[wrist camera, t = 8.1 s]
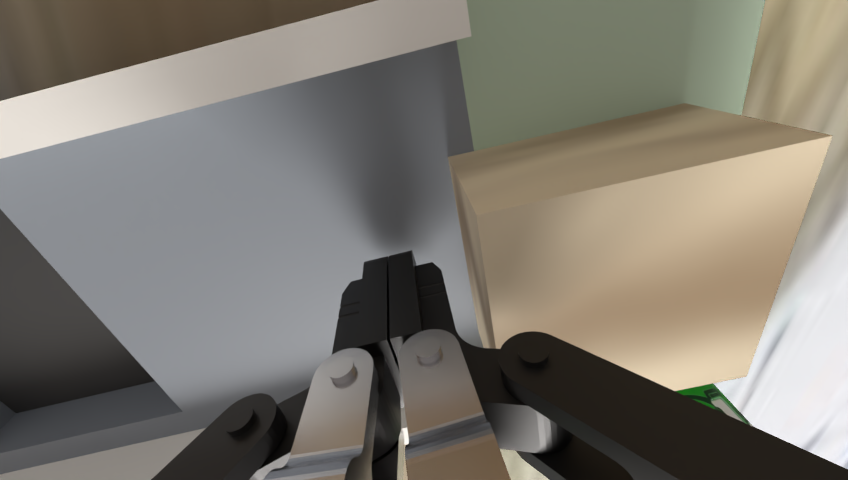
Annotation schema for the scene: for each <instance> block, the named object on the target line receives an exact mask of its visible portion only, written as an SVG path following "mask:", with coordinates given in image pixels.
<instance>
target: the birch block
mask: <svg viewBox="0 0 848 480" xmlns="http://www.w3.org/2000/svg"><path fill="white" fill-rule="evenodd" d="M831 139H832V135H828V134H823V133H818V132H814V131H809V130H805V129H800V128H796V127H791V126H787V125H782V124H778V123H773V122H768V121H764V120H759V119H755V118H750V117H746V116H741V115H737V114H732V113H728V112H723V111H719V110H714V109H709V108H705V107H700V106H696V105H691V104H687V103H683V104H679V105H674V106H670V107H666V108H661V109H657V110H652V111H648V112H644V113H639V114H635V115H630V116H626V117H622V118H617V119H613V120H608V121H604V122H600V123H595V124H591V125H586V126H582V127H578V128H573V129H569V130H565V131H560V132H556V133H551V134H547V135H543V136H538V137H534V138H529V139H525V140H521V141H516V142H512V143H507V144H503V145H499V146H494V147H490V148H485V149H481V150H477V151H472V152H468V153H463V154H459V155H455V156H450V157H448V161H449V167H450V173H451V178H452V184H453V190H454V195H455V201H456V207H457V212H458V218H459V224H460V229H461V235H462V241H463V246H464V252H465V258H466V264H467V269H468V275H469V281H470V286H471V292H472V298H473V303H474V309H475V315H476V320H477V326H478V331H479V334H480V338H481V341H482V344H483V347H484V348H494V349H501V347H502V345H503V344H504V342H505V341H507V340H508V339H509V338H510V337H512V336H514V335H516V334H519V333H523V332H529V331H536V332H543V333H547V334H550V335H552V336H554V337H557V338H559V339H561V340H563V341H565V342H568V343H570V344H572V345H574V346H576V347H579V348H581V349H583V350H585V351H587V352H590V353H592V354H594V355H596V356H598V357H601V358H603V359H605V360H607V361H609V362H612V363H614V364H616V365H618V366H621V367H623V368H625V369H627V370H629V371H632V372H634V373H636V374H638V375H640V376H643V377H645V378H647V379H649V380H651V381H654V382H656V383H658V384H660V385H662V386H665V387H667V388H669V389H671V390H673V391H678V390H683V389H688V388H693V387H697V386H702V385H707V384H712V383H717V382H722V381H727V380H731V379H736V378H741V377H746V376H747V374H748V371H749V368H750V365H751V362H752V360H753V357H754V354H755V351H756V349H757V346H758V343H759V340H760V337H761V335H762V332H763V329H764V326H765V323H766V321H767V318H768V315H769V312H770V309H771V307H772V304H773V301H774V298H775V295H776V293H777V290H778V287H779V284H780V282H781V279H782V276H783V273H784V270H785V268H786V265H787V262H788V259H789V256H790V254H791V251H792V248H793V245H794V242H795V240H796V237H797V234H798V231H799V228H800V226H801V223H802V220H803V217H804V214H805V212H806V209H807V206H808V203H809V201H810V198H811V195H812V192H813V189H814V187H815V184H816V181H817V178H818V175H819V173H820V170H821V167H822V164H823V161H824V159H825V156H826V153H827V150H828V147H829V145H830V142H831Z"/></svg>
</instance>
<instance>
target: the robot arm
mask: <svg viewBox="0 0 848 480" xmlns="http://www.w3.org/2000/svg"><path fill="white" fill-rule="evenodd" d="M340 307H341V308H340V310H339V315H338V317H339V319H338V321H337V327H336V333H335V339H334V345H333V350H332V355H331V356H329V357H328V358H327V359H326V360H324V361H323V362H322V363H321V364H320V366H319V367H318V368H317V370H316V372H315V374H314V376H313V379H312V383H311V386H310V387H308V388H307V389H305V390H304V391H302V392H300V393H298V394H296V395H294V396H292V397H290V398H288V399H286V400H284V401H282V402H280V403H279V404H277V403H276V402H275V400H274V399H273V398H272V397H271V396H270V395H267V394H263V393H258V394H252V395H249V396H246V397H244V398H242V399H240V400H238V401H237V402H235V403H234V404H232V405H231V406H230V407H228V408H227V409H226V410H225V411H224V412H223V413H222V414H221V415H220V416H219V417H217V418H216V419H215V420H214V421H213V422H212V423H211V424H210V425H209V426H208V427H207V428H206V429H205V430H204V431H202V432H201V433H200V434H199V435H198V436H197V437H196V438H195V439H194V440H193V441H192V442H191V443H190V444H189V445H188V446H186V447H185V448H184V449H183V450H182V451H181V452H180V453H179V454H178V455H177V456H176V457H175V458H174V459H173V460H172V461H170V462H169V463H168V464H167V465H166V466H165V467H164V468H163V469H162V470H161V471H160V472H159V473H158V474H157V475H156V476H154V477H153V478H152V479H151V480H403V470H404V433H403V430H402V428H401V408H405V415H406V423H407V430H408V438H409V444H408V445H406V447H405V459H406V468H407V476H408V480H511V479H510V477H509V474H508V471H507V468H506V465H505V463H504V460H503V457H502V454H501V452H500V449H507V450H515V451H517V453H518V454H519V455H520V457H521V458H522V459H524V460H525V461H526V462H527V463H529V464H530V465H531V466H532V467H534V468H535V469H536V470H538V471H539V472H540V473H542V474H543V475H544V476H546V477H547V478H548V479H550V480H848V469H845V468H843V467H841V466H839V465H837V464H834V463H832V462H830V461H828V460H826V459H823V458H821V457H819V456H817V455H814V454H812V453H810V452H808V451H806V450H803V449H801V448H799V447H797V446H795V445H792V444H790V443H788V442H786V441H784V440H781V439H779V438H777V437H775V436H773V435H770V434H768V433H766V432H764V431H762V430H759V429H757V428H755V427H753V426H751V425H748V424H746V423H744V422H742V421H740V420H737V419H735V418H733V417H731V416H729V415H726V414H724V413H722V412H720V411H717V410H715V409H713V408H711V407H709V406H706V405H704V404H702V403H700V402H698V401H695V400H693V399H691V398H689V397H687V396H684V395H682V394H680V393H678V392H676V391H673V390H671V389H669V388H667V387H665V386H662V385H660V384H658V383H656V382H654V381H651V380H649V379H647V378H645V377H643V376H640V375H638V374H636V373H634V372H632V371H629V370H627V369H625V368H623V367H621V366H618V365H616V364H614V363H612V362H609V361H607V360H605V359H603V358H601V357H598V356H596V355H594V354H592V353H590V352H587V351H585V350H583V349H581V348H579V347H576V346H574V345H572V344H570V343H568V342H565V341H563V340H561V339H559V338H557V337H554V336H552V335H550V334H547V333H543V332H536V331H529V332H523V333H519V334H516V335H514V336H512V337H510V338H509V339H508V340H507V341H505V342H504V344H503V345H502V347H501V349H494V348H481V347H476V346H473V345H471V344H469V343H467V342H465V341H464V340H463V339H462V338H461V337H460V336H459V335H458V333H457V331H456V328H455V324H454V320H453V316H452V312H451V308H450V304H449V300H448V295H447V291H446V287H445V283H444V279H443V275H442V271H441V269H440V268H439V267H437V266H436V265H435V264H434V263H433V262H430V263H426V264H421V265H416V261H415V258H414V254H413V251H412V250H411V251H406V252H402V253H398V254H394V255H390V256H389V258H388V256H386V257H382V258H378V259H374V260H369V261H365V262H364V265H363V275H362V279H359V280H355V281H351V282H350V283H349V285H348V286H347V288H346V289H345V290H344V292H343V293H342V298H341V304H340Z"/></svg>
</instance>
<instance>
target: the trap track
mask: <svg viewBox="0 0 848 480" xmlns="http://www.w3.org/2000/svg"><path fill="white" fill-rule="evenodd" d="M764 4H765V0H377V1H373V2H370V3H366V4H362V5H358V6H355V7H351V8H347V9H343V10H340V11H336V12H332V13H328V14H325V15H321V16H317V17H313V18H310V19H306V20H302V21H298V22H295V23H291V24H287V25H283V26H280V27H276V28H272V29H268V30H265V31H261V32H257V33H253V34H250V35H246V36H242V37H238V38H235V39H231V40H227V41H223V42H220V43H216V44H212V45H208V46H205V47H201V48H197V49H193V50H190V51H186V52H182V53H178V54H175V55H171V56H167V57H163V58H160V59H156V60H152V61H148V62H145V63H141V64H137V65H133V66H130V67H126V68H122V69H118V70H115V71H111V72H107V73H103V74H100V75H96V76H92V77H88V78H85V79H81V80H77V81H73V82H70V83H66V84H62V85H58V86H55V87H51V88H47V89H43V90H40V91H36V92H32V93H28V94H25V95H21V96H17V97H13V98H10V99H6V100H2V101H0V480H151V479H152V478H153V477H154V476H156V475H157V474H158V473H159V472H160V471H161V470H162V469H163V468H164V467H165V466H166V465H167V464H168V463H169V462H170V461H172V460H173V459H174V458H175V457H176V456H177V455H178V454H179V453H180V452H181V451H182V450H183V449H184V448H185V447H186V446H188V445H189V444H190V443H191V442H192V441H193V440H194V439H195V438H196V437H197V436H198V435H199V434H200V433H201V432H202V431H204V430H205V429H206V428H207V427H208V426H209V425H210V424H211V423H212V422H213V421H214V420H215V419H216V418H217V417H219V416H220V415H221V414H222V413H223V412H224V411H225V410H226V409H227V408H228V407H230V406H231V405H232V404H234V403H235V402H237V401H238V400H240V399H242V398H244V397H246V396H249V395H252V394H258V393H263V394H267V395H270V396H271V397H272V398H273V399H274V400H275V402H276V403H277V404H279V403H280V402H282V401H284V400H286V399H288V398H290V397H292V396H294V395H296V394H298V393H300V392H302V391H304V390H305V389H307V388H308V387H310V386H311V383H312V379H313V376H314V374H315V372H316V370H317V368H318V367H319V366H320V364H321V363H322V362H323V361H324V360H326V359H327V358H328V357H329V356H331V355H332V350H333V345H334V339H335V333H336V327H337V321H338V319H339V317H338V315H339V310H340V308H341V307H340V304H341V298H342V293H343V292H344V290H345V289H346V288H347V286H348V285H349V283H350V282H351V281H355V280H359V279H362V275H363V265H364V262H365V261H369V260H374V259H378V258H382V257H386V256H388V258H389V256H390V255H394V254H398V253H402V252H406V251H411V250H412V251H413V254H414V258H415V261H416V265H421V264H426V263H430V262H433V263H434V264H435V265H436V266H437V267H439V268H440V269H441V271H442V275H443V279H444V283H445V287H446V291H447V295H448V300H449V304H450V308H451V312H452V316H453V320H454V324H455V328H456V331H457V333H458V335H459V336H460V337H461V338H462V339H463V340H464V341H465V342H467V343H469V344H471V345H473V346H476V347H481V348H484V347H483V344H482V341H481V338H480V334H479V331H478V326H477V320H476V315H475V309H474V303H473V298H472V292H471V286H470V281H469V275H468V269H467V264H466V258H465V252H464V246H463V241H462V235H461V229H460V224H459V218H458V212H457V207H456V201H455V195H454V190H453V184H452V178H451V173H450V167H449V161H448V157H450V156H455V155H459V154H463V153H468V152H472V151H477V150H481V149H485V148H490V147H494V146H499V145H503V144H507V143H512V142H516V141H521V140H525V139H529V138H534V137H538V136H543V135H547V134H551V133H556V132H560V131H565V130H569V129H573V128H578V127H582V126H586V125H591V124H595V123H600V122H604V121H608V120H613V119H617V118H622V117H626V116H630V115H635V114H639V113H644V112H648V111H652V110H657V109H661V108H666V107H670V106H674V105H679V104H683V103H687V104H691V105H696V106H700V107H705V108H709V109H714V110H719V111H723V112H728V113H732V114H737V115H742V110H743V105H744V100H745V96H746V91H747V86H748V81H749V76H750V71H751V67H752V62H753V57H754V52H755V47H756V42H757V38H758V33H759V28H760V23H761V18H762V13H763V9H764ZM401 428H402V430H403V433H404V445H405V444H409V438H408V430H407V423H406V415H405V408H401Z"/></svg>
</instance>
